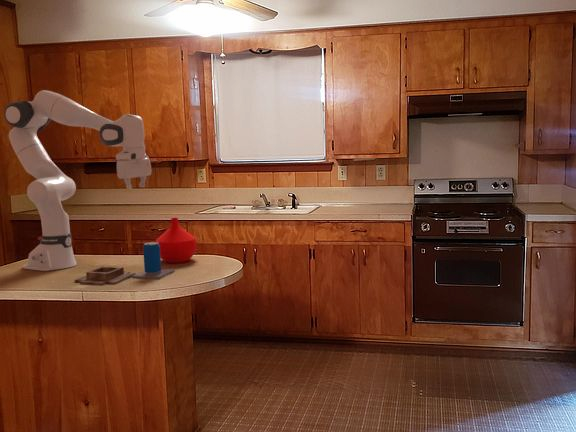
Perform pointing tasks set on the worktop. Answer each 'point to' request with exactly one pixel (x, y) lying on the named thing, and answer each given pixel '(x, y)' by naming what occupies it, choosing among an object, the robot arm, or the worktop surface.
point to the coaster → (153, 276)
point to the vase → (176, 244)
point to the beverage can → (152, 257)
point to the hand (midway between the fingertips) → (135, 188)
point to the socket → (105, 276)
